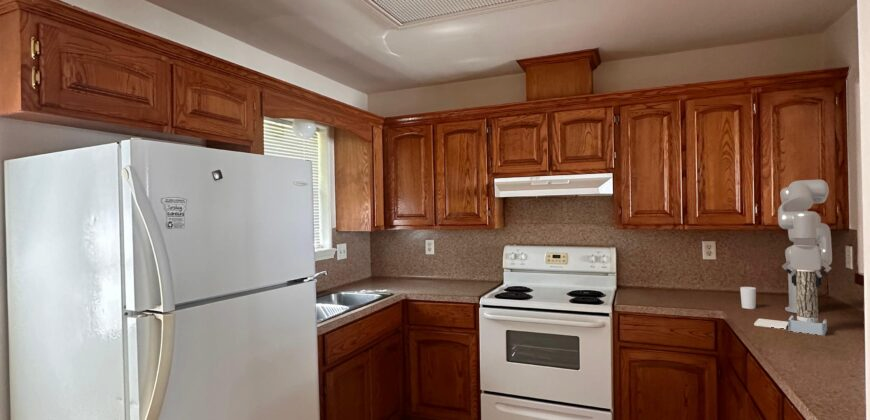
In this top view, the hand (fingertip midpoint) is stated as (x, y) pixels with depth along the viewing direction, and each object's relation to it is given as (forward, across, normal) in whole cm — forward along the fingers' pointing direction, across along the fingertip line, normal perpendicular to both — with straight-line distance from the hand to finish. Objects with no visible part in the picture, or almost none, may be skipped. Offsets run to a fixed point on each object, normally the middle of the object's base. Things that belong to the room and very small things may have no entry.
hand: (806, 285), depth 195 cm
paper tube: (+18, 0, 0) cm, 18 cm away
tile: (+18, +12, -3) cm, 22 cm away
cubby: (+18, 0, 0) cm, 18 cm away
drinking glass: (+18, +26, -38) cm, 50 cm away
